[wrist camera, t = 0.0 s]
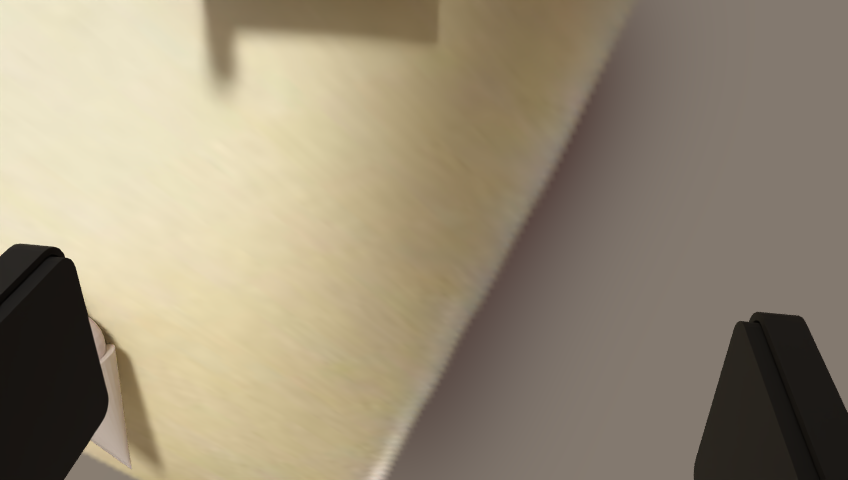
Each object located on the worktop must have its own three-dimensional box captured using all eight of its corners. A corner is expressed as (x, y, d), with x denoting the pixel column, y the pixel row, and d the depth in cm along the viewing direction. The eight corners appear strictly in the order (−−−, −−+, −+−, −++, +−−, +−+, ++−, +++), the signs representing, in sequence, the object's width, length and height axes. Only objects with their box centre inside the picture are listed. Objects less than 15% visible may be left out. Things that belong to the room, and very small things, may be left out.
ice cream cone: (157, 433, 59) (56, 260, 55) (184, 453, 54) (76, 264, 50) (80, 484, 56) (-33, 304, 52) (101, 511, 51) (-22, 314, 47)
